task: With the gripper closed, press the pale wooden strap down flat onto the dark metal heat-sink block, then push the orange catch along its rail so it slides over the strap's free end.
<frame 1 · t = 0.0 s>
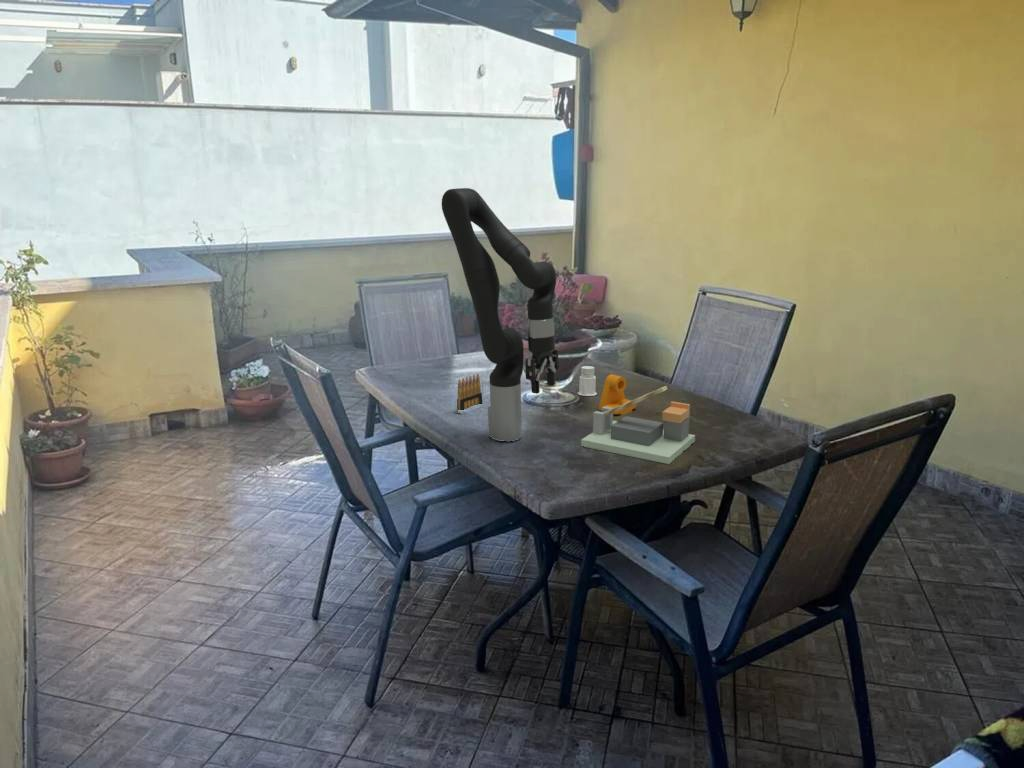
hand: (543, 389, 205), 17 cm above the table, tool pointing down, fingers open, 8 cm apart
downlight: (587, 394, 258), on the table
ammunition clip: (470, 410, 244), on the table
board: (638, 443, 209), on the table
strap: (631, 402, 207), point 12 cm above the table, hinge at 30.0°
bracket: (618, 411, 239), on the table
catch: (676, 412, 206), point 10 cm above the table, slide at 0.0 cm
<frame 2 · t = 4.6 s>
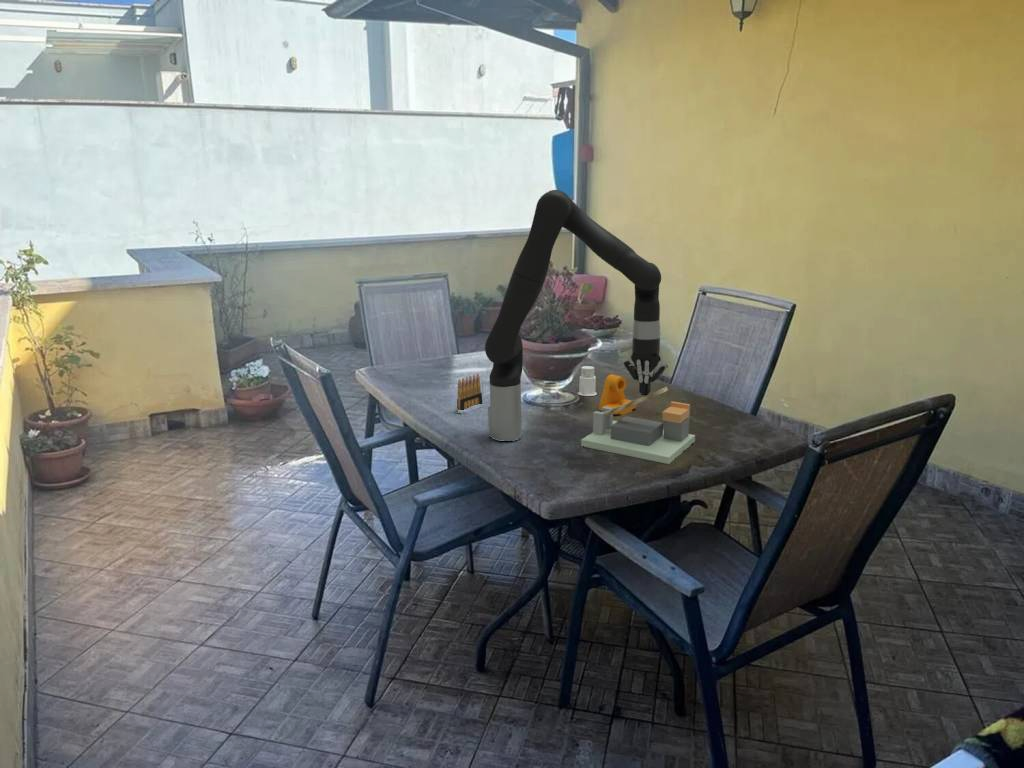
hand: (644, 394, 204), 15 cm above the table, tool pointing down, fingers closed
strap: (632, 403, 207), point 12 cm above the table, hinge at 29.2°, touching gripper
everything else where it was.
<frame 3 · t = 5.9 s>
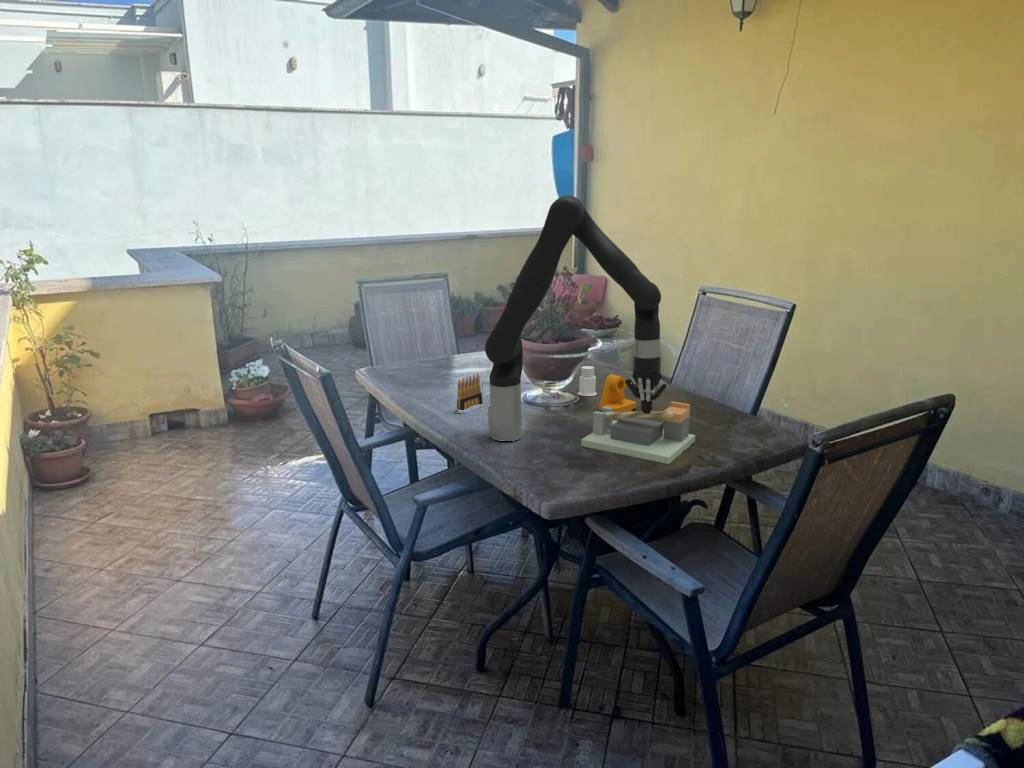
hand: (646, 412, 205), 10 cm above the table, tool pointing down, fingers closed
strap: (635, 414, 207), point 9 cm above the table, hinge at 9.9°, touching gripper
everything else where it was.
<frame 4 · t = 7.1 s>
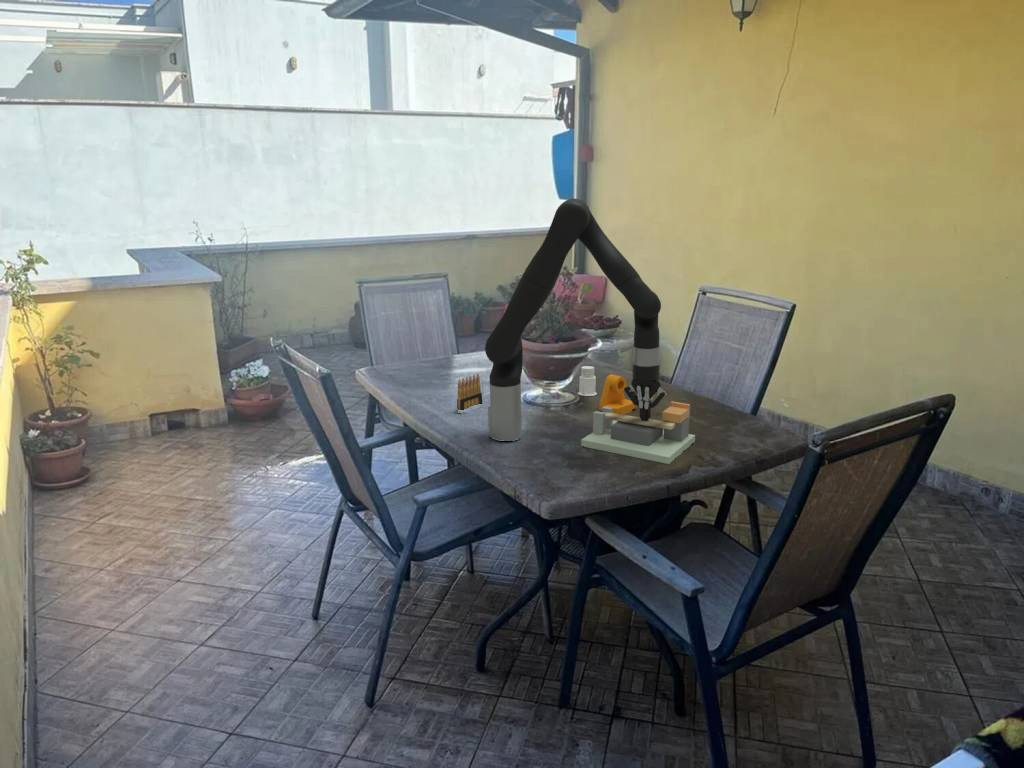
hand: (645, 420, 206), 8 cm above the table, tool pointing down, fingers closed
strap: (636, 420, 208), point 7 cm above the table, hinge at 0.7°, touching gripper
everything else where it was.
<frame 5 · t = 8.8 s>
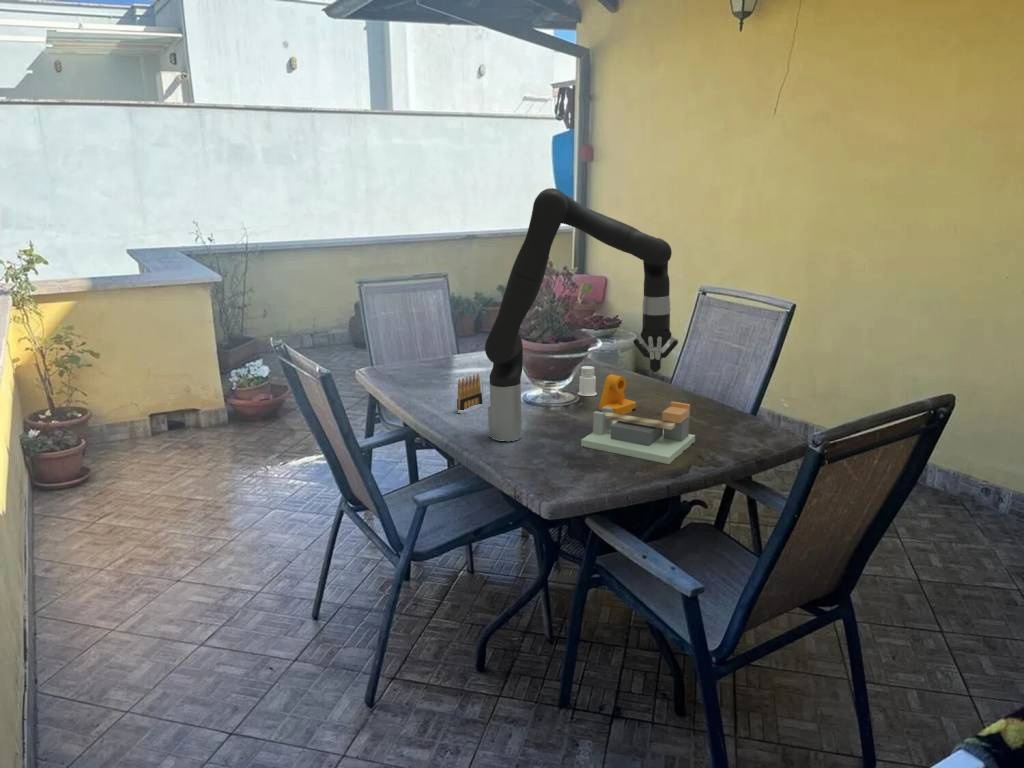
hand: (655, 371, 204), 22 cm above the table, tool pointing down, fingers closed
strap: (636, 420, 208), point 7 cm above the table, hinge at 0.7°
everything else where it was.
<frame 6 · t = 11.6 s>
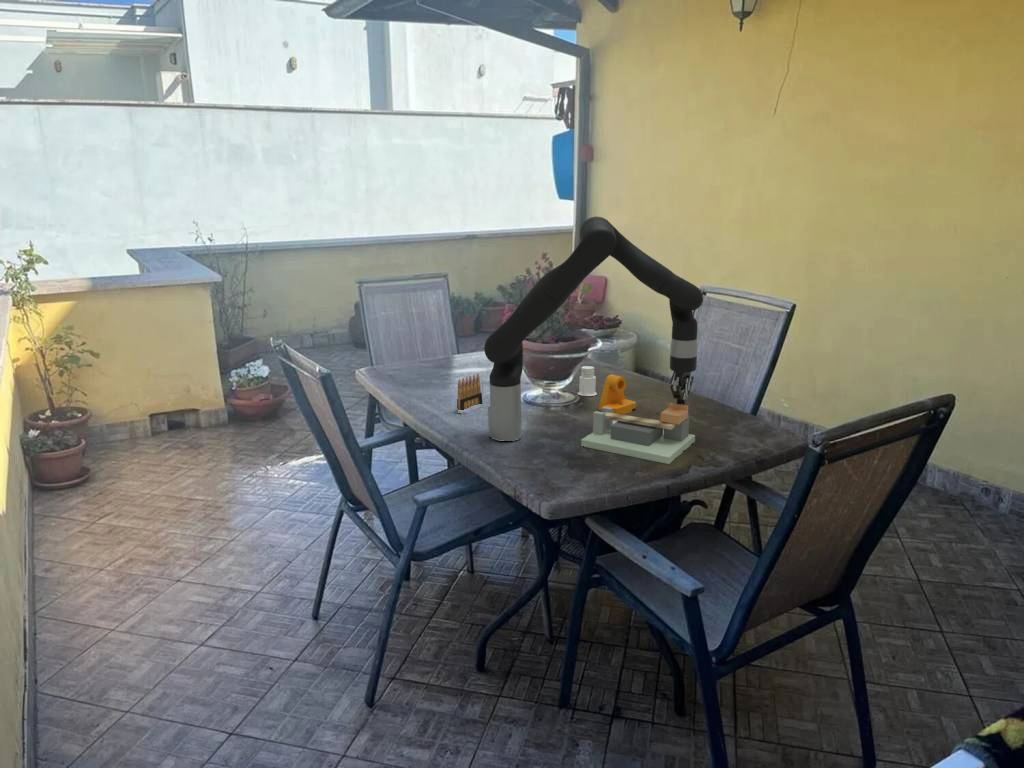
hand: (680, 411, 210), 9 cm above the table, tool pointing down, fingers closed
catch: (674, 413, 205), point 10 cm above the table, slide at 1.3 cm, touching gripper
everything else where it was.
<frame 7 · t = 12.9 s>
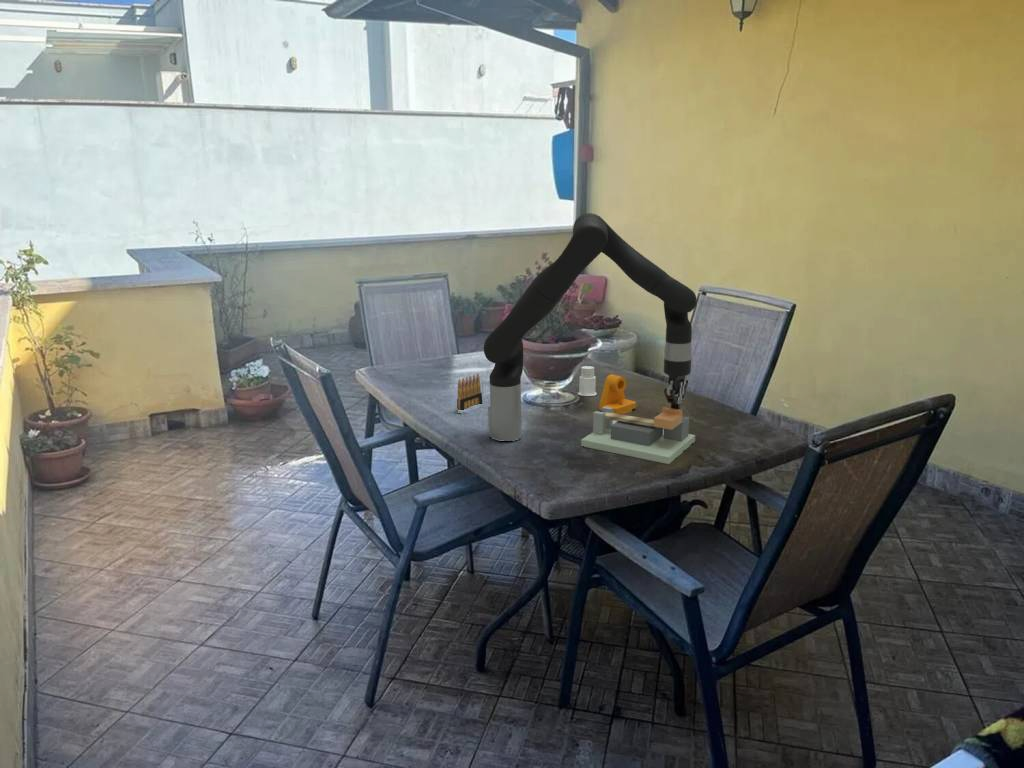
hand: (675, 415, 206), 9 cm above the table, tool pointing down, fingers closed
catch: (668, 418, 201), point 10 cm above the table, slide at 6.1 cm, touching gripper
everything else where it was.
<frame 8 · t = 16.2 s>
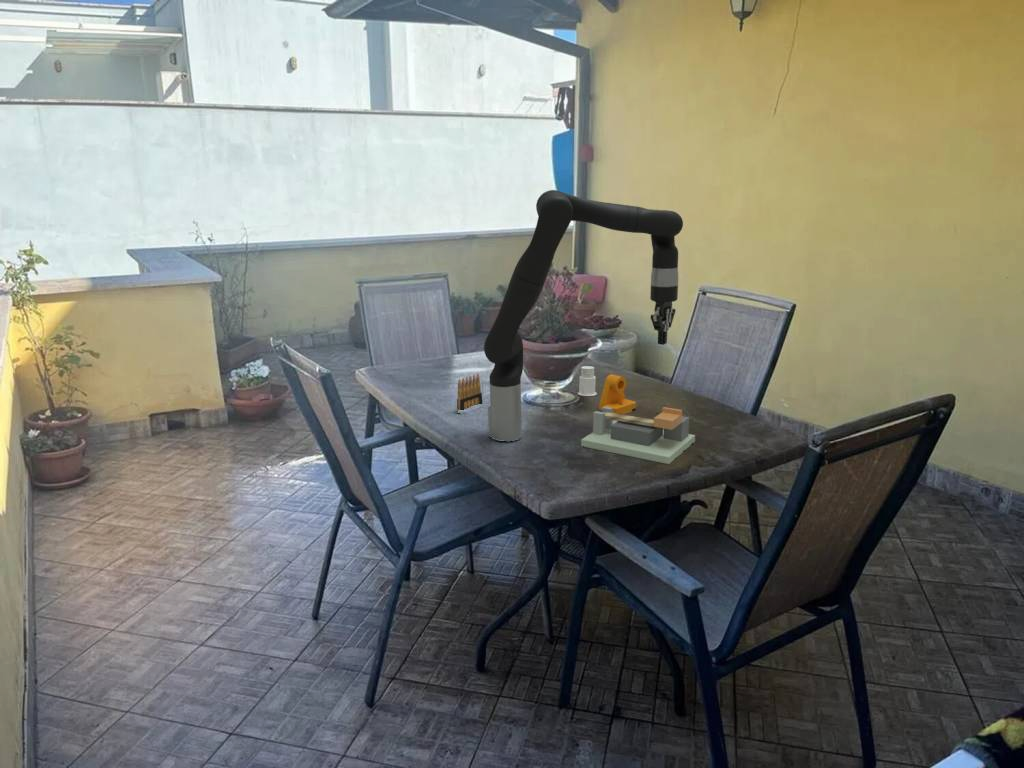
hand: (662, 343, 205), 29 cm above the table, tool pointing down, fingers closed
catch: (668, 418, 201), point 10 cm above the table, slide at 6.1 cm
everything else where it was.
at the end: strap at +1° (first picture: +30°); catch slide at 6.1 cm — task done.
